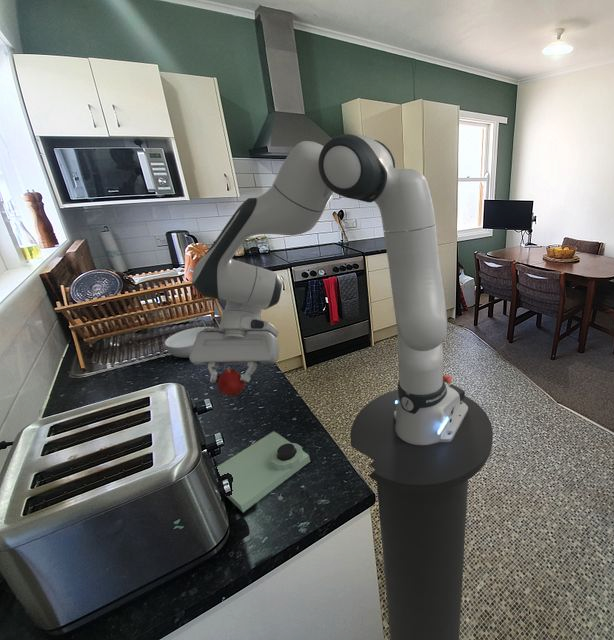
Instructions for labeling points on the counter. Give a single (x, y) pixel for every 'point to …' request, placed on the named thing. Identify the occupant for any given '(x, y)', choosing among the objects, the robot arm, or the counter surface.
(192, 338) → the cereal bowl
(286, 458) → the button
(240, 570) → the counter surface
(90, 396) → the counter surface
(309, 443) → the counter surface
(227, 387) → the onion
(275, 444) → the scale
